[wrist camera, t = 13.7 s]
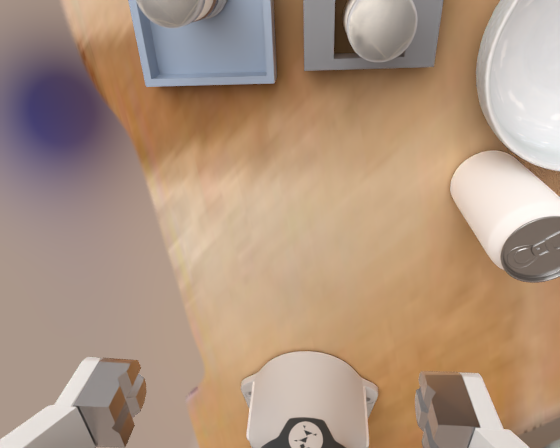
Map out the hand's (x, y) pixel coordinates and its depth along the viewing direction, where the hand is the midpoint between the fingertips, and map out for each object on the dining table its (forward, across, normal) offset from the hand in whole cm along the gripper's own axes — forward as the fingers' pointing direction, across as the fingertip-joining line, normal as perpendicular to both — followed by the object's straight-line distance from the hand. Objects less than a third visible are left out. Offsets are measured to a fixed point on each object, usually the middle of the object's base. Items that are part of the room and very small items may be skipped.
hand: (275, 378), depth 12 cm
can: (+29, +17, -7) cm, 35 cm away
